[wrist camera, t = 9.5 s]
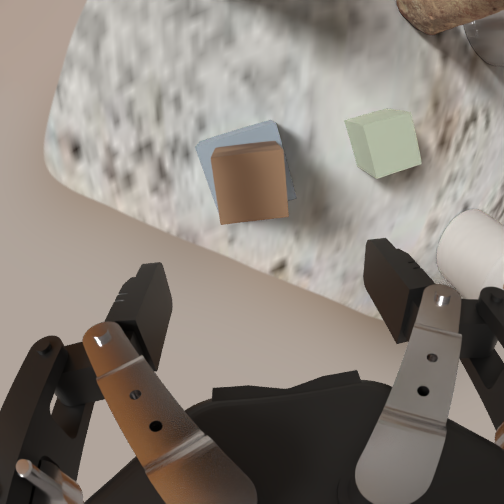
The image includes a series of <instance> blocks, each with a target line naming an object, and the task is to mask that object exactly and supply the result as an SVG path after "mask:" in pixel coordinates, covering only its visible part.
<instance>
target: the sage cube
mask: <svg viewBox="0 0 504 504" xmlns="http://www.w3.org/2000/svg"><path fill="white" fill-rule="evenodd" d="M344 122H345V125H346V128H347V131H348V135H349V138H350V142H351V145H352V148H353V152H354V156H355V159H356V163H357V167H359V168H360V169H362V170H364V171H365V172H367V173H368V174H370V175H371V176H373V177H374V178H376V179H378V178H381V177H384V176H387V175H390V174H393V173H396V172H399V171H402V170H405V169H408V168H411V167H414V166H417V165H420V164H422V163H421V157H420V152H419V147H418V142H417V137H416V133H415V128H414V124H413V120H412V115H411V112H406V111H400V110H393V109H384V110H380V111H376V112H373V113H369V114H365V115H362V116H358V117H355V118H351V119H348V120H344Z"/></svg>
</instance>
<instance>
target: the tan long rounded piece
mask: <svg viewBox="0 0 504 504" xmlns="http://www.w3.org/2000/svg"><path fill="white" fill-rule="evenodd" d="M396 2H397V6H398V8H399V11H400V13H401V14H402V15H403V16H404V17H405V18H406V19H407V20H408V21H409V22H410V23H411V24H412V25H413V26H414V27H415V28H417V29H419V30H420V31H422V32H424V33H426V34H428V35H435V34H437V33H439V32H443V31H445V30H449V29H452V28H454V27H456V26H459V25H464V24H467V23H470V22H472V21H475V20H478V19H482V18H485V17H487V16H490V15H492V14H495V13H498V12H500V11H502V10H504V0H397V1H396Z"/></svg>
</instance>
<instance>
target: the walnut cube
mask: <svg viewBox="0 0 504 504" xmlns="http://www.w3.org/2000/svg"><path fill="white" fill-rule="evenodd" d="M211 165H212V172H213V178H214V185H215V191H216V198H217V204H218V211H219V217H220V223H221V225H224V224H232V223H240V222H248V221H256V220H265V219H274V218H283V217H289V214H288V200H287V187H286V175H285V163H284V151H283V149H282V148H281V147H280V145H279V144H278V143H277V142H276V141H266V142H257V143H248V144H239V145H231V146H224V147H216V148H215V149H214V152H213V154H212V156H211Z"/></svg>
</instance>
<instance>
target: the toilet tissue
mask: <svg viewBox="0 0 504 504" xmlns="http://www.w3.org/2000/svg"><path fill="white" fill-rule="evenodd" d="M437 265H438V269H439V270H440V273H441V274H442V275H443V276H444V277H445V278H446V279H447V280H448V281H449V282H450V283H451V284H452V285H453V286H454V288H456V290H457V291H458V292H459V293H460V294H461V295H462V297H463V298H464V299H478V298H479V295H480V292H481V290H482V289H483V288H485V287H497V288H500V289H502V290H504V225H503V224H501V223H500V222H498V221H497V220H495V219H494V218H493V217H491V216H489V215H488V214H486V213H484V212H483V211H481V210H478V209H471V210H467V211H464V212H462V213H461V214H459V215H458V216H456V217H455V218H454V219H453V220H452V221H451V222H450V224H449V225H448V226H447V228H446V229H445V231H444V233H443V235H442V237H441V239H440V242H439V245H438V249H437Z"/></svg>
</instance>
